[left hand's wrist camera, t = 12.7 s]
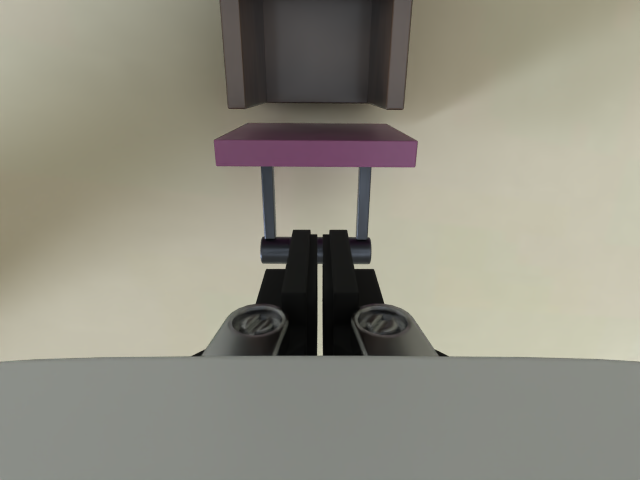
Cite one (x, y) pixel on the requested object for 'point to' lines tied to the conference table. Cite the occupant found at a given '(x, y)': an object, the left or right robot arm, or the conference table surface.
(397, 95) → the drawer
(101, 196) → the conference table surface
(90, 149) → the conference table surface
